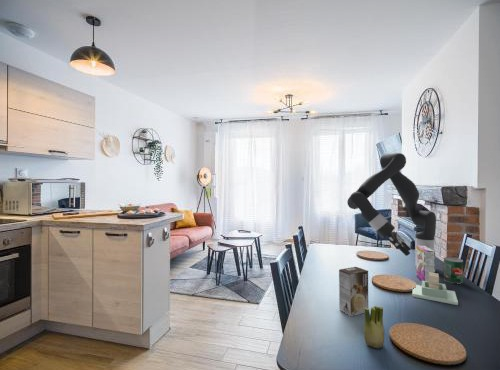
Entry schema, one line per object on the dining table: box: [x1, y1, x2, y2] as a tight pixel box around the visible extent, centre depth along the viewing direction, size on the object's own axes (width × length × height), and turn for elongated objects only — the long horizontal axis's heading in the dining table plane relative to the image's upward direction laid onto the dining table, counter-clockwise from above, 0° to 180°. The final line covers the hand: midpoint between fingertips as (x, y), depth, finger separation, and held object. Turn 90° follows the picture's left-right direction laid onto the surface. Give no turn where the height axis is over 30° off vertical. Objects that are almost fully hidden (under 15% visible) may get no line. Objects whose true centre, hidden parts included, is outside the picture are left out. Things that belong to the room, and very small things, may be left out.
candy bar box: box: [415, 246, 436, 282], centre depth 139 cm, size 11×5×16 cm, turn 168°
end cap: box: [411, 280, 459, 306], centre depth 121 cm, size 13×16×4 cm
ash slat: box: [429, 272, 440, 289], centre depth 121 cm, size 4×4×8 cm
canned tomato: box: [443, 256, 464, 285], centre depth 138 cm, size 8×8×11 cm
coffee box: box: [338, 266, 369, 317], centre depth 106 cm, size 9×6×16 cm
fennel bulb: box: [363, 305, 385, 349], centre depth 84 cm, size 6×5×12 cm
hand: (408, 252), depth 126 cm, fingers open, 8 cm apart
